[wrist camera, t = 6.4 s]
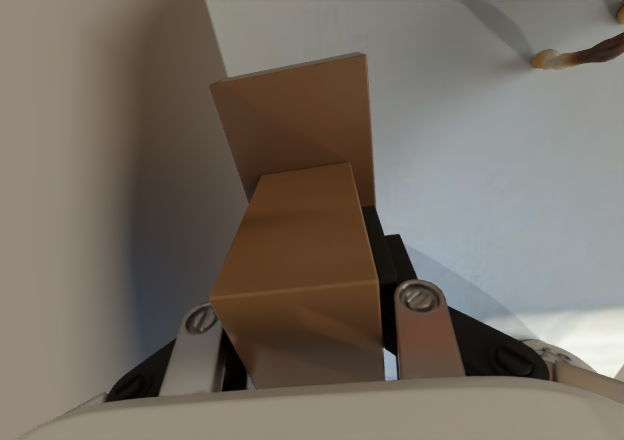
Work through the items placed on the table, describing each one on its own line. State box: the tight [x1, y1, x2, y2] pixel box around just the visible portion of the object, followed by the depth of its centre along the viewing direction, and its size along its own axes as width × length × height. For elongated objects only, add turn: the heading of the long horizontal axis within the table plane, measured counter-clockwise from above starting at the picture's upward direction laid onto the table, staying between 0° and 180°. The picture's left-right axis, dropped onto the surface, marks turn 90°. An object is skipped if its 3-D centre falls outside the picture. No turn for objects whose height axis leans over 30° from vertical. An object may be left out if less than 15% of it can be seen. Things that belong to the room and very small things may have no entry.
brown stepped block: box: [209, 52, 385, 389], centre depth 12 cm, size 13×5×10 cm, turn 10°
